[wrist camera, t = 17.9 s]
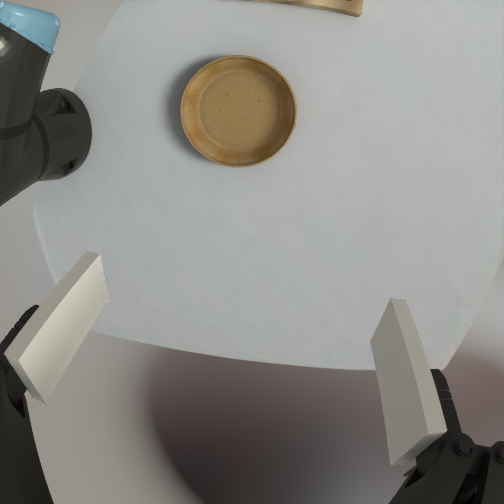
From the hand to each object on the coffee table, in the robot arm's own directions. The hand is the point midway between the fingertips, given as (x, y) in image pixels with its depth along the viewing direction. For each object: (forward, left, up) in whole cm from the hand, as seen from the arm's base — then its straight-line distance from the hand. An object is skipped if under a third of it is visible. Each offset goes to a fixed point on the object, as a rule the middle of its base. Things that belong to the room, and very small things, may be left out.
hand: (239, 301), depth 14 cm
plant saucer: (-5, +4, -32) cm, 33 cm away
